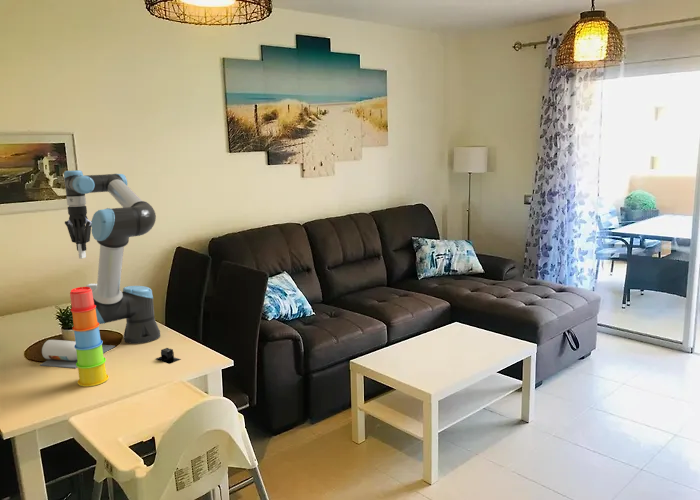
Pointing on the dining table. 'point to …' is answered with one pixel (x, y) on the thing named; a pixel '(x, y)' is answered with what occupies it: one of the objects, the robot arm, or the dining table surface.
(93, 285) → the skincare box
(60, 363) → the slate mat
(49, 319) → the dining table surface
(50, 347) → the milk bottle
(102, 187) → the robot arm
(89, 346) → the stacking cups
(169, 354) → the black block on base
